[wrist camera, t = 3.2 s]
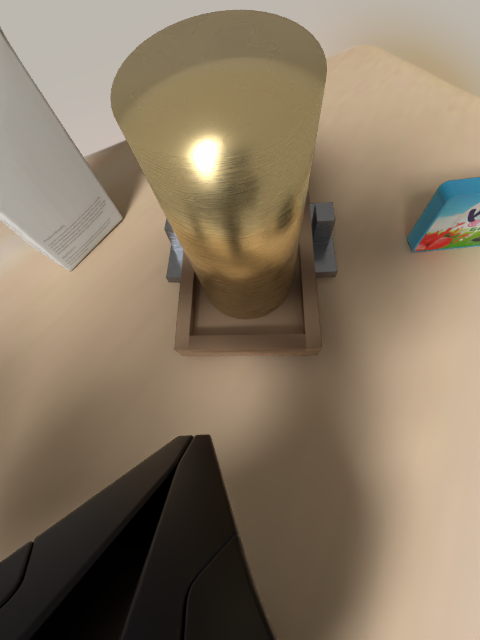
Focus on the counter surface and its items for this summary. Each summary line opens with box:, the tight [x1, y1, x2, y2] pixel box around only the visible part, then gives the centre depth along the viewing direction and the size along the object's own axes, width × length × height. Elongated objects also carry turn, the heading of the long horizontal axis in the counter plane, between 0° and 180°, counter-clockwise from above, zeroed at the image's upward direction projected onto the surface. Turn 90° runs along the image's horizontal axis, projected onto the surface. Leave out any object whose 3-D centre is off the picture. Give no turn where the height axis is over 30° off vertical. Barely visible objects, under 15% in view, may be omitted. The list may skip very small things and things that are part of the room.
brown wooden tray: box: [174, 190, 322, 356], centre depth 24 cm, size 23×10×2 cm, turn 179°
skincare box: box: [0, 27, 123, 271], centre depth 23 cm, size 8×7×16 cm
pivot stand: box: [165, 202, 337, 282], centre depth 25 cm, size 8×15×4 cm, turn 89°
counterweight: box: [111, 10, 327, 319], centre depth 16 cm, size 7×7×14 cm
